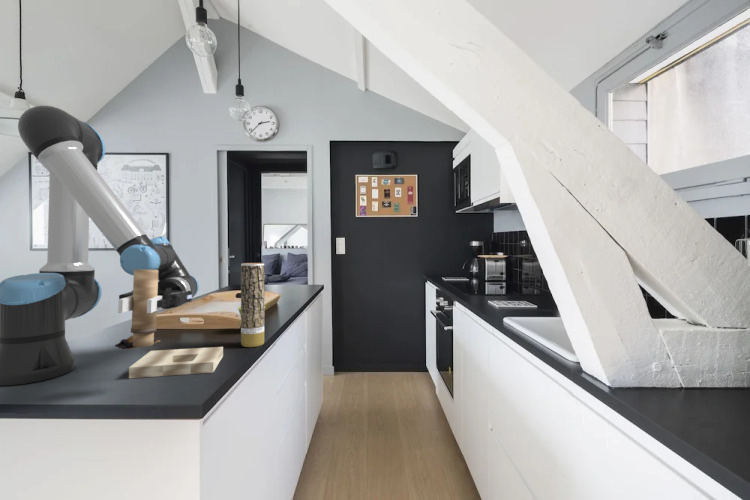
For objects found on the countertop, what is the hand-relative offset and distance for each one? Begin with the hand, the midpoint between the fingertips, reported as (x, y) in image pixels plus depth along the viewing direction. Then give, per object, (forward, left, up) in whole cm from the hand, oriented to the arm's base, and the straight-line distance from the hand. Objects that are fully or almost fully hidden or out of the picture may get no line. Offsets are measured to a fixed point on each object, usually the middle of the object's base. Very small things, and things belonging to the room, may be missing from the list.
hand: (135, 306), depth 75 cm
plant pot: (+17, +55, -19) cm, 61 cm away
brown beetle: (-15, +46, -19) cm, 52 cm away
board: (+3, +19, -18) cm, 27 cm away
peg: (0, +5, -9) cm, 10 cm away
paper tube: (+19, +36, -18) cm, 45 cm away
